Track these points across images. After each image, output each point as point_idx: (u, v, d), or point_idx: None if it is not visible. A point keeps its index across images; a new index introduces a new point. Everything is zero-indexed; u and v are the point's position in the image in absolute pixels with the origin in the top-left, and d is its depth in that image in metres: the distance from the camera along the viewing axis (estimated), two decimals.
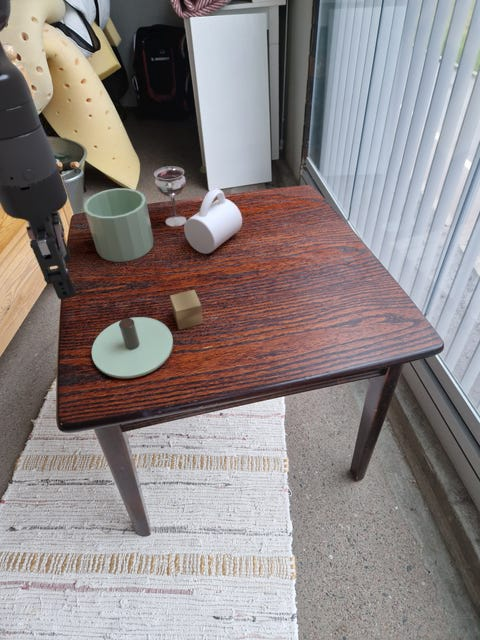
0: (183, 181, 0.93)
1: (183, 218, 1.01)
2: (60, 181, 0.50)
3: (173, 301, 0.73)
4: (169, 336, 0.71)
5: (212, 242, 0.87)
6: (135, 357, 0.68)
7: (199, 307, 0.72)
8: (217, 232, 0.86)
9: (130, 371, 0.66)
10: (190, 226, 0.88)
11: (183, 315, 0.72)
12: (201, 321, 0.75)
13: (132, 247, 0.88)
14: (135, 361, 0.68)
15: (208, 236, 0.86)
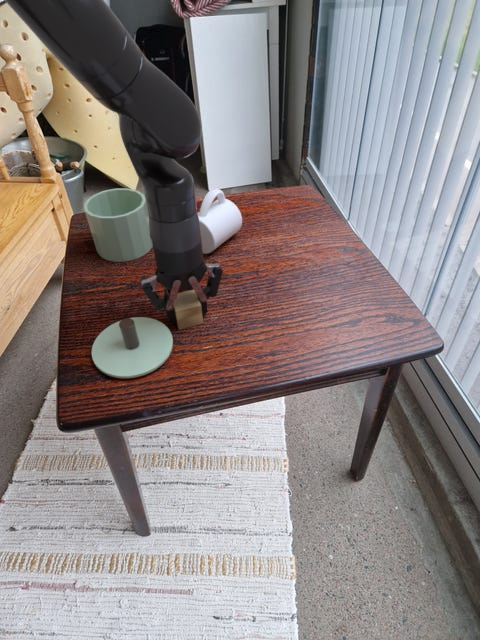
0: None
1: None
2: None
3: None
4: (169, 336, 0.71)
5: (212, 242, 0.87)
6: (135, 357, 0.68)
7: (199, 307, 0.72)
8: (217, 232, 0.86)
9: (130, 371, 0.66)
10: None
11: (183, 315, 0.72)
12: (201, 321, 0.75)
13: (132, 247, 0.88)
14: (135, 361, 0.68)
15: (208, 236, 0.86)
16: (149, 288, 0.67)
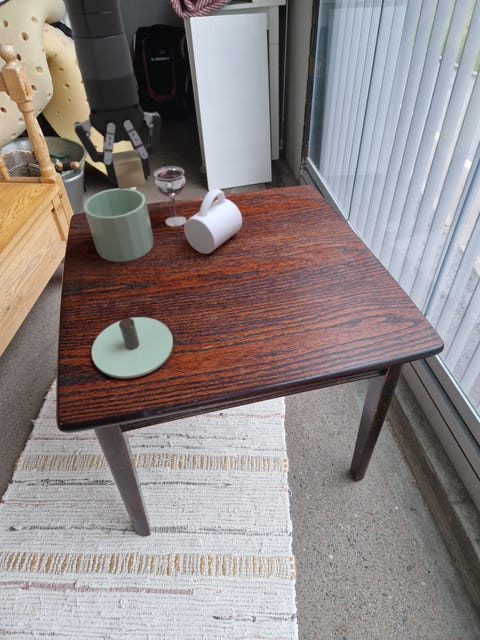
0: (183, 181, 0.93)
1: (183, 218, 1.01)
2: None
3: (112, 157, 0.70)
4: (169, 336, 0.71)
5: (212, 242, 0.87)
6: (135, 357, 0.68)
7: (139, 162, 0.70)
8: (217, 232, 0.86)
9: (130, 371, 0.66)
10: (190, 226, 0.88)
11: (122, 170, 0.69)
12: (143, 181, 0.72)
13: (132, 247, 0.88)
14: (135, 361, 0.68)
15: (208, 236, 0.86)
16: (82, 131, 0.65)
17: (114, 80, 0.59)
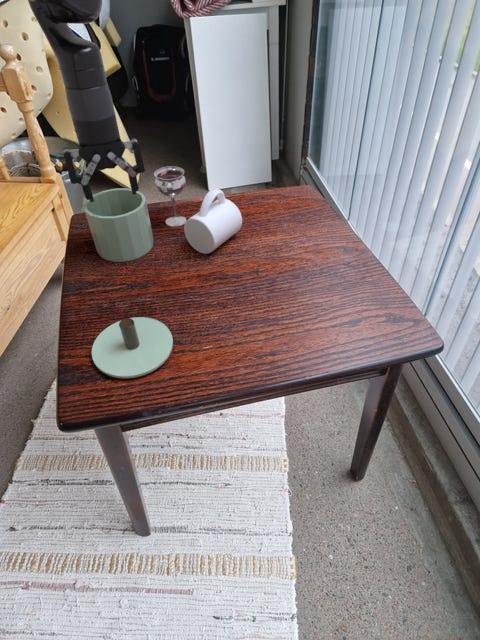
0: (183, 181, 0.93)
1: (183, 218, 1.01)
2: None
3: None
4: (169, 336, 0.71)
5: (212, 242, 0.87)
6: (135, 357, 0.68)
7: None
8: (217, 232, 0.86)
9: (130, 371, 0.66)
10: (190, 226, 0.88)
11: None
12: None
13: (132, 247, 0.88)
14: (135, 361, 0.68)
15: (208, 236, 0.86)
16: (70, 156, 0.77)
17: (99, 121, 0.72)
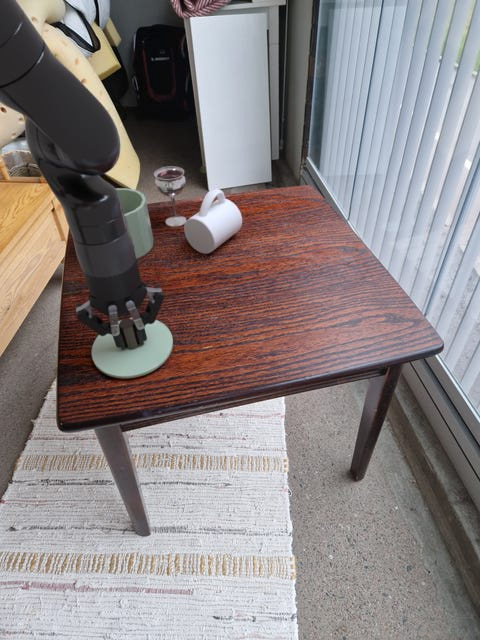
0: (183, 181, 0.93)
1: (183, 218, 1.01)
2: None
3: None
4: (169, 336, 0.71)
5: (212, 242, 0.87)
6: (135, 357, 0.68)
7: None
8: (217, 232, 0.86)
9: (130, 371, 0.66)
10: (190, 226, 0.88)
11: None
12: None
13: None
14: (135, 361, 0.68)
15: (208, 236, 0.86)
16: (84, 316, 0.62)
17: (116, 276, 0.56)
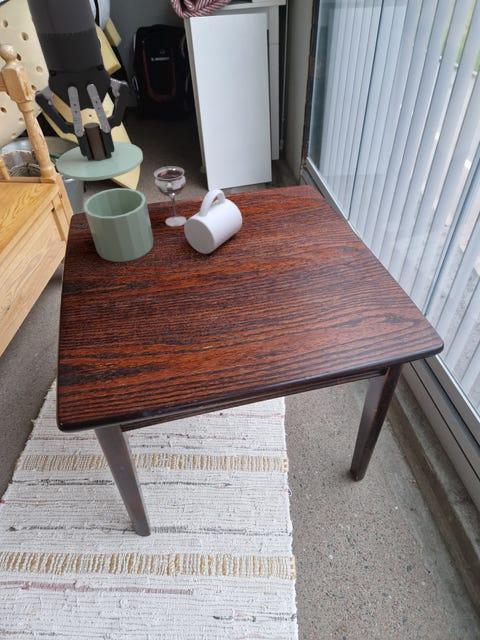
0: (183, 181, 0.93)
1: (183, 218, 1.01)
2: None
3: None
4: (139, 152, 0.68)
5: (212, 242, 0.87)
6: (101, 165, 0.65)
7: None
8: (217, 232, 0.86)
9: (94, 174, 0.63)
10: (190, 226, 0.88)
11: None
12: None
13: (132, 247, 0.88)
14: (101, 168, 0.64)
15: (208, 236, 0.86)
16: (43, 100, 0.58)
17: (72, 35, 0.52)
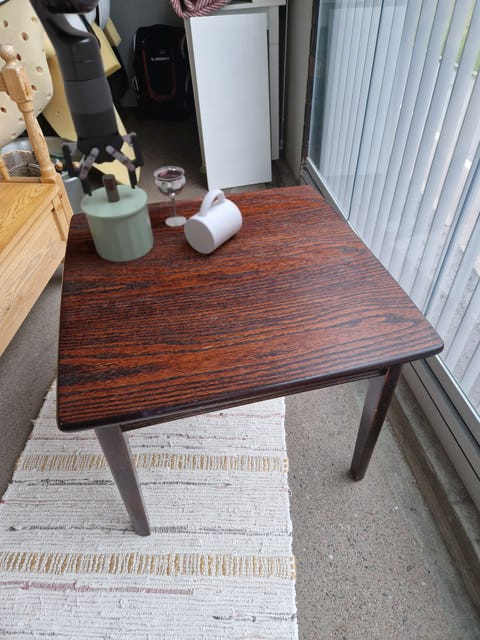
0: (183, 181, 0.93)
1: (183, 218, 1.01)
2: None
3: None
4: (144, 195, 0.87)
5: (212, 242, 0.87)
6: (116, 206, 0.84)
7: None
8: (217, 232, 0.86)
9: (111, 214, 0.82)
10: (190, 226, 0.88)
11: None
12: None
13: (132, 247, 0.88)
14: (115, 208, 0.83)
15: (208, 236, 0.86)
16: (68, 150, 0.76)
17: (97, 114, 0.71)
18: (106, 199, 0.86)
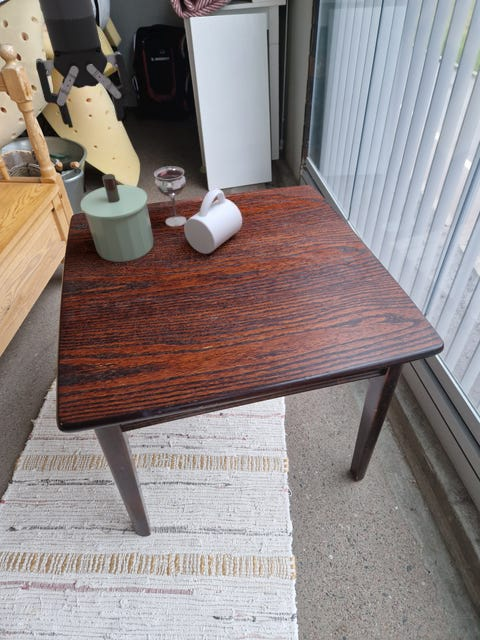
0: (183, 181, 0.93)
1: (183, 218, 1.01)
2: None
3: None
4: (144, 195, 0.87)
5: (212, 242, 0.87)
6: (116, 206, 0.84)
7: None
8: (217, 232, 0.86)
9: (111, 214, 0.82)
10: (190, 226, 0.88)
11: None
12: None
13: (132, 247, 0.88)
14: (115, 208, 0.83)
15: (208, 236, 0.86)
16: (43, 67, 0.67)
17: (74, 20, 0.62)
18: (106, 199, 0.86)
